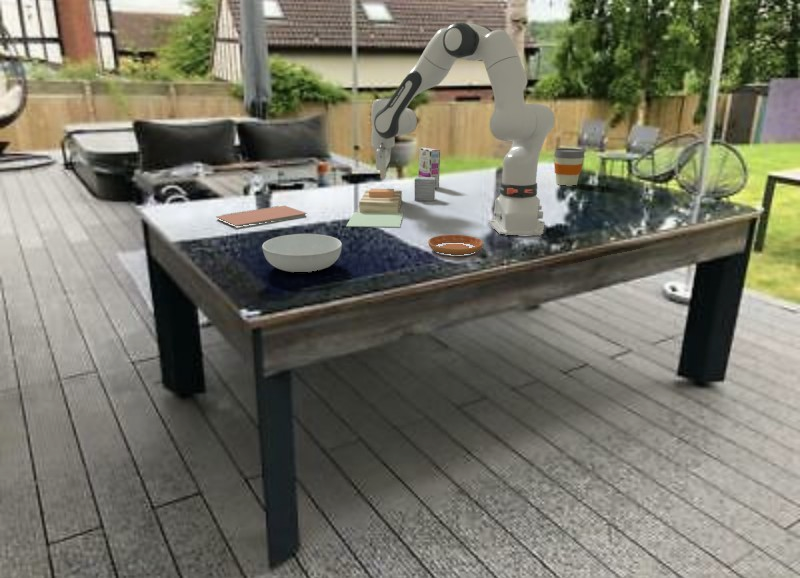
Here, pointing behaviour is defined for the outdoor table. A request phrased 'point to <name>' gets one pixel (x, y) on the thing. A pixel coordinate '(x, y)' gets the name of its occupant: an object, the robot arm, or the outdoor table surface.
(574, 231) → the outdoor table surface
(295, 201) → the outdoor table surface
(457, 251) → the saucer
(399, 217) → the mat
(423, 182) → the medicine box
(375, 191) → the orange rectangular block
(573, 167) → the reusable coffee cup
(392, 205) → the plate
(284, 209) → the notebook
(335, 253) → the serving bowl
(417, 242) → the outdoor table surface
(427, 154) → the candy bar box
